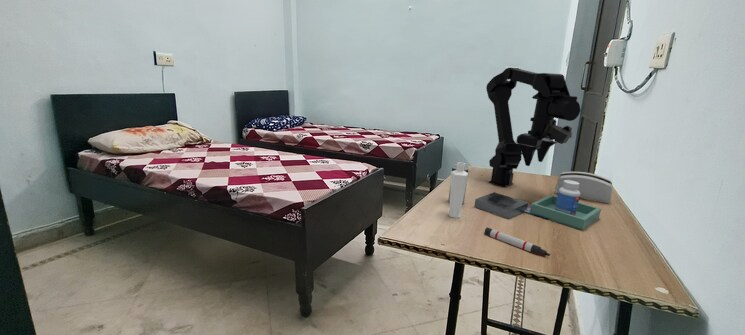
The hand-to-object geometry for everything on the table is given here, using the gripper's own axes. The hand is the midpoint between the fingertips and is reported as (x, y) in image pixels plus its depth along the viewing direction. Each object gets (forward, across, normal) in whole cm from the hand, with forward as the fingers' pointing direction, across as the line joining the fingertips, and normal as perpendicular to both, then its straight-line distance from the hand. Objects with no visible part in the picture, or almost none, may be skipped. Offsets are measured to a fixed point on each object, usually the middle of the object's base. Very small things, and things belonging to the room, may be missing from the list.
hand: (534, 163), depth 111 cm
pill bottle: (+11, -6, -14) cm, 19 cm away
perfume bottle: (+12, -34, +5) cm, 36 cm away
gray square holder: (+11, -18, 0) cm, 21 cm away
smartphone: (+12, -11, -5) cm, 17 cm away
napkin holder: (+12, +17, -11) cm, 24 cm away
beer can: (+12, -24, +11) cm, 29 cm away
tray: (+11, -7, -14) cm, 19 cm away
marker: (+11, -36, -14) cm, 41 cm away
